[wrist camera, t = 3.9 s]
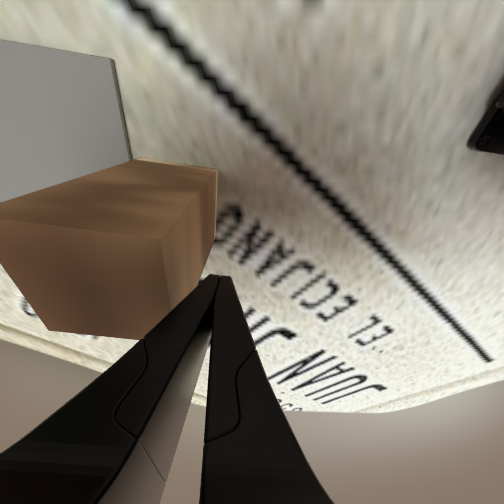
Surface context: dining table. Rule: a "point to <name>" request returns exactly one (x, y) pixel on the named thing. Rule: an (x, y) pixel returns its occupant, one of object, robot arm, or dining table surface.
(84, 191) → the block
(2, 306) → the dining table surface
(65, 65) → the mat
